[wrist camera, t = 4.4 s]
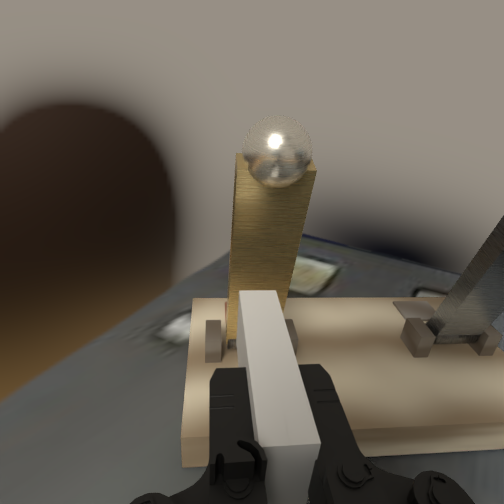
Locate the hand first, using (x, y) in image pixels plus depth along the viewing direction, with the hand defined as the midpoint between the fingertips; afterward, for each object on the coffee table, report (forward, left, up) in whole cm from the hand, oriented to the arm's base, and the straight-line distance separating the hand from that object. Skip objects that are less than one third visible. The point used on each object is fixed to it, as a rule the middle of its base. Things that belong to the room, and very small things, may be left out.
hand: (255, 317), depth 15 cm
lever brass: (+5, -3, -6) cm, 9 cm away
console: (+3, -9, -10) cm, 14 cm away
